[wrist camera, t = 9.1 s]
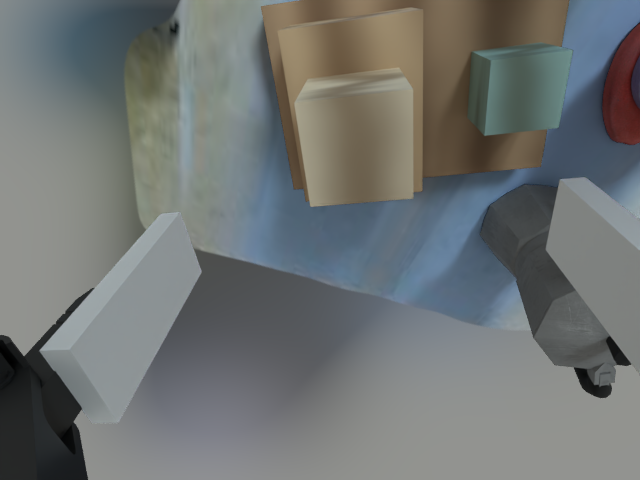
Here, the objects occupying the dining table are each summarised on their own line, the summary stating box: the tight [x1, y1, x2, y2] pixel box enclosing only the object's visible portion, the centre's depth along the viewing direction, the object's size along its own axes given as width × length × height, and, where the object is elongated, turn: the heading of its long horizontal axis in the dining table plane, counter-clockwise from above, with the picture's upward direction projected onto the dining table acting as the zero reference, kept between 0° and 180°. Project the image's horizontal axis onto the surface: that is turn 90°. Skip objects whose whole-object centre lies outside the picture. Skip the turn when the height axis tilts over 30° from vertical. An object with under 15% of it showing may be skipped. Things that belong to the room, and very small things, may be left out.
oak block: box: [294, 68, 413, 207], centre depth 24 cm, size 6×6×7 cm
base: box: [261, 0, 573, 202], centre depth 30 cm, size 22×15×9 cm
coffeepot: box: [480, 184, 631, 398], centre depth 33 cm, size 15×9×18 cm, turn 18°
